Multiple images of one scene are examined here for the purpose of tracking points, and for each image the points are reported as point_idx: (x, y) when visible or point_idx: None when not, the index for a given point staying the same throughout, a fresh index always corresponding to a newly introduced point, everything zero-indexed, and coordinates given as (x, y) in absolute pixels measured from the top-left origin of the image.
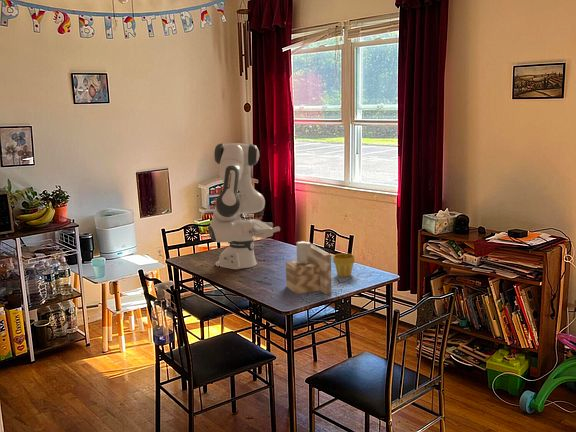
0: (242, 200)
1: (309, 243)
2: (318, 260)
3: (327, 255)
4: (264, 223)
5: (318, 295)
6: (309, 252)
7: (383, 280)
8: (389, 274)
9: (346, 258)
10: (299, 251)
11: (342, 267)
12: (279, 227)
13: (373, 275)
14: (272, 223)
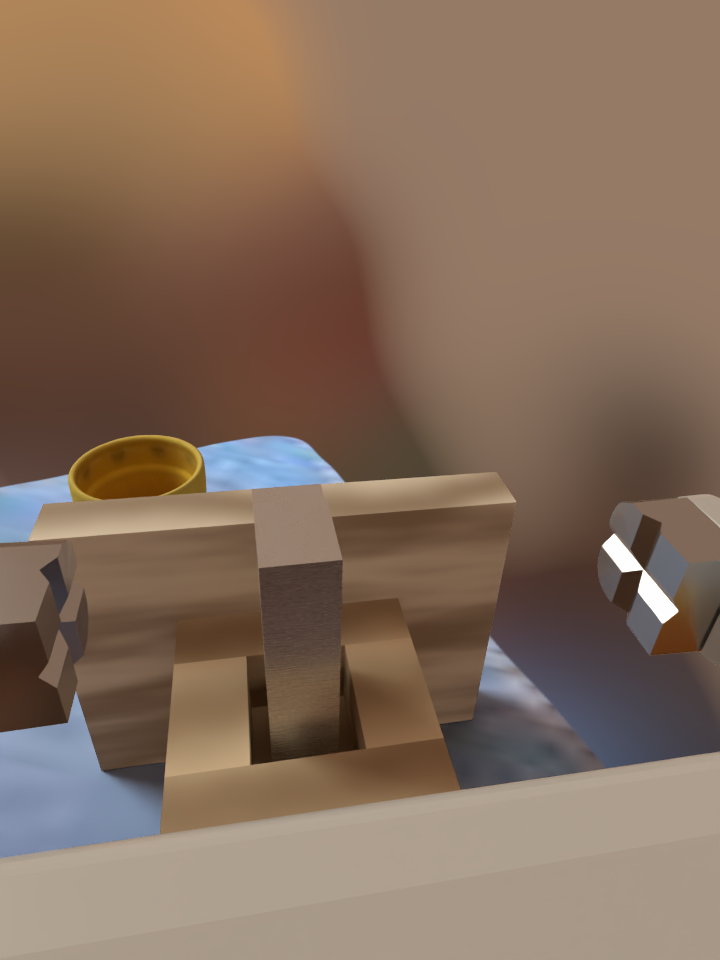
0: None
1: (322, 492)
2: (379, 574)
3: (506, 491)
4: (388, 840)
5: (490, 766)
6: (173, 575)
7: (319, 470)
8: (250, 440)
9: (105, 473)
10: (339, 629)
11: None
12: (708, 501)
13: (233, 477)
14: (64, 554)
